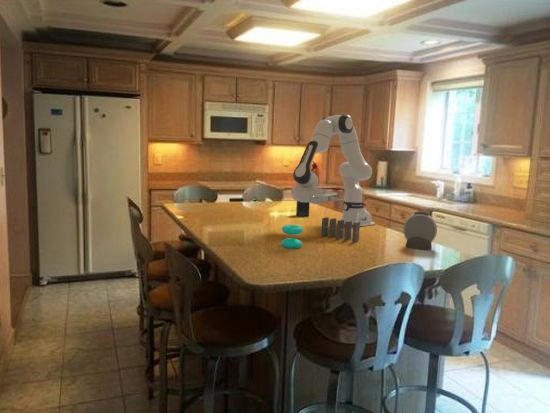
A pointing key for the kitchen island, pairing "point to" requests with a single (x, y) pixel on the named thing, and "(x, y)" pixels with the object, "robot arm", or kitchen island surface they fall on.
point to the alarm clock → (420, 231)
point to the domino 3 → (340, 202)
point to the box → (302, 208)
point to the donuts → (290, 241)
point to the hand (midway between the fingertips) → (341, 198)
